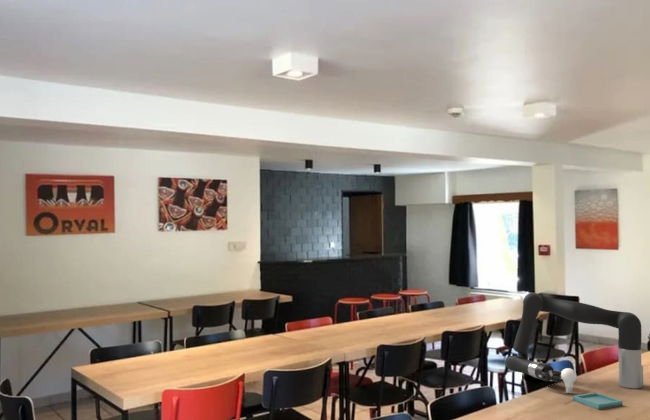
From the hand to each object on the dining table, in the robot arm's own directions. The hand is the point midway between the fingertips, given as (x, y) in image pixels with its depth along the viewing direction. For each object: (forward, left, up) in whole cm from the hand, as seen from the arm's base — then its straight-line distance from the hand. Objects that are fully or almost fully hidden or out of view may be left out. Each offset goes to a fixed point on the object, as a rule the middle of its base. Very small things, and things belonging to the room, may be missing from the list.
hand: (567, 379), depth 247 cm
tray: (0, +16, -6) cm, 17 cm away
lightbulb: (0, +1, -6) cm, 6 cm away
